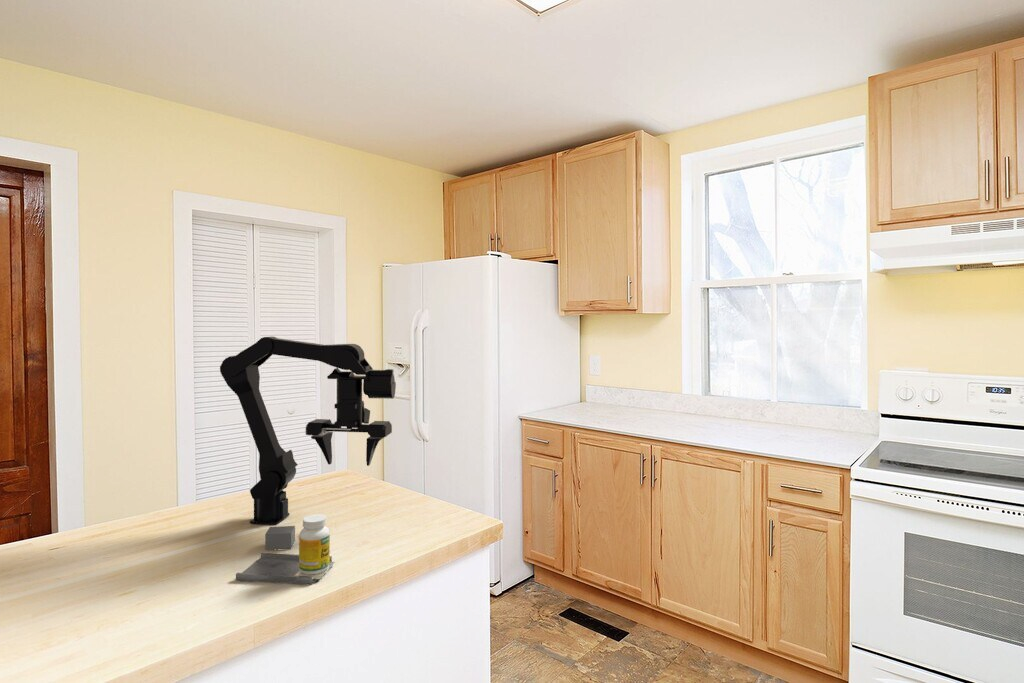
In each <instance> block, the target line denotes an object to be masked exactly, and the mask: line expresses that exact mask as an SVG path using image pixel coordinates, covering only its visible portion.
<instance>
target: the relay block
mask: <svg viewBox="0 0 1024 683" xmlns="http://www.w3.org/2000/svg"><path fill="white" fill-rule="evenodd" d="M264 538H265V540H264V550H267V551H278V549H285V550H292V549H293V547H294V545H295V543H294V542H296V525H285V526H283V525H282V526H269V528H268V530H267V531H266V533H265V534H264ZM293 544H294V545H293ZM292 546H293V547H292ZM291 548H292V549H291ZM275 549H276V550H275Z"/></svg>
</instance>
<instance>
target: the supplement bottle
mask: <svg viewBox="0 0 1024 683" xmlns="http://www.w3.org/2000/svg"><path fill="white" fill-rule="evenodd" d="M326 524H327V517H326V516H325V515H324V514H310V515H307V516H305V517H303V518H302V527H303V528H302V529H301V530H300V532H299V534H298V555H299V570H300V571H301V572H302V573H303V574H307V575H312V574H319V573H322V572H324V571H326V570H327V569H328V568H329V563H330V556H331V555H330V551H331V550H330V547H331V546H330V536H331V535H330V534H331V533H330V529H329V527H328V526H327V525H326ZM329 569H330V568H329Z"/></svg>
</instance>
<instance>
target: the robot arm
mask: <svg viewBox="0 0 1024 683" xmlns="http://www.w3.org/2000/svg"><path fill="white" fill-rule="evenodd" d="M273 355H274V356H280V357H281V356H282V357H289V358H295V359H303V360H310V361H317V362H321V363H324V364H325V365H329V366H331V367H334V369H333V370H332V371H331V373H330V374H328V375H327V379H328V380H336V403H334V409H336V421H334V422H332V420H331V419H327V418H326V419H324V418H323V419H322V418H315V419H314V420H311V421H309V422H308V423H307V424H306V426H305V435H306V436H310V438H311V439H312V440H314V441H315V442H316V443H317V445H318V447H319V448H320V450H321V452H322V454H323V456H324V458H325V460H326V463H327V465H331V464H332V463H333V453H332V452H333V451H332V438H333V432H341V433H342V432H344V433H367V435H369V436H368V437H367V438H366V446H365V447H366V452H365V453H366V454H365V456H366V457H365V458H366V460H365V461H366V462H365V463H366V466H367V467H369V466H371V463H372V459H373V456H374V454H375V452H376V449H377V446H378V444H379V443H380V441H381V440H382V439H385V438H386V437H387V436H388V435H390V434H392V431H393V425H392V423H391V422H390V420H373V421H372V422H370V418H371V417H370V416H371V410H370V409H368V408H366V407H365V402H364V400H363V394H364V395H365V396H367V398H368V399H387V400H388V399H393V400H394V398H395V396H396V395H395V394H396V386H397V384H396V380H395V374H394V372H395V371H394V369H393V368H392V369H391V368H388V369H374V368H373V367H372V365H370V363H369V361H368V360H367V359H366V358H365V351H364V349H363V348H362V347H361V346H360V345H359V344H357V343H338V344H337V343H336V344H335V343H334V344H322V343H314V342H307V341H299V340H292V339H285V338H278V337H275V336H264V337H263V336H262V337H261V338H260V339H259V340H257V341H256V342H255V343H253V344H251V346H248V347H246V348H245V349H243V350H242V351H240V352H239V353H237V354H236V355H232V356H227V357H225V358H224V359H223V360H222V362H221V365H220V366H219V372H220V375H221V376H222V378H223V380H224V381H225V383H226V385H227V386H228V388H229V389H230V390H231V391H232V392H233V393H234V394H235V395H236V396H237V398H238V400H239V403H240V405H241V408H242V411H243V414H244V416H245V419H246V422H247V425H248V427H249V430H250V432H251V435H252V438H253V441H254V443H255V447H256V448H257V452H258V456H259V457H258V458H259V459H258V472H259V478H260V480H258V482H256V483H255V484H254V485H253V487H251V488H250V489H249V493H250V495H251V497H252V500H253V518H252V519H250V520H249V523H250V524H259V525H261V524H262V525H263V524H264V525H278V524H280V523H281V522H282V521H284V520H285V519H286V518H287V517H289V516H290V512H289V499H288V497H287V491H286V490H285V489H286V488H287V487H288V484H289V483H290V482H291V481H293V479H294V478H295V476H296V474H297V467H298V463H297V462H296V461H295V458H294V453H293V450H292V449H289V450H287V451H286V450H284V448H282V446H281V445H280V443H279V440H278V437H277V435H276V434H277V433H276V432H275V429H274V426H273V423H272V421H271V419H270V416H269V412H268V410H267V408H266V405H265V402H264V399H263V397H262V394H261V390H260V378H261V376H260V370H259V367H261V365H263V364H265V363H266V362H267V361H268V360H269V359H270V358H271V357H272V356H273ZM284 490H285V491H284Z"/></svg>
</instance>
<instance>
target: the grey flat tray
mask: <svg viewBox="0 0 1024 683" xmlns="http://www.w3.org/2000/svg"><path fill="white" fill-rule="evenodd" d="M335 563H336V562H335V561H333V557H332V556H331V555H330V563H329V568H328V569H327V570H326V571H324V572H322V573H319V574H312V575H307V574H303V573H302V572H301V571H300V570H299V554H290V553H271V552H270V553H269V552H268V553H267V552H261V553H260V557H259V558H258V559H257V560H256V561H255V562H253V563H252V564H250V565H249V566H248V567H247V568H245V570H243V571H242V572H236V573H235V581H236V580H243V581H242V582H254V581H257V583H259V582H260V583H273V582H274V583H276V584H278V583H279V584H292V585H293V584H295V585H296V584H297V585H313V584H314V583H315V581H316V580H320V579H322V578H323V577H324V575H325V574H326V573H327V572H328V571H329V570H330V569H331V567H332V566H333V565H334V564H335ZM258 581H259V582H258Z"/></svg>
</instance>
